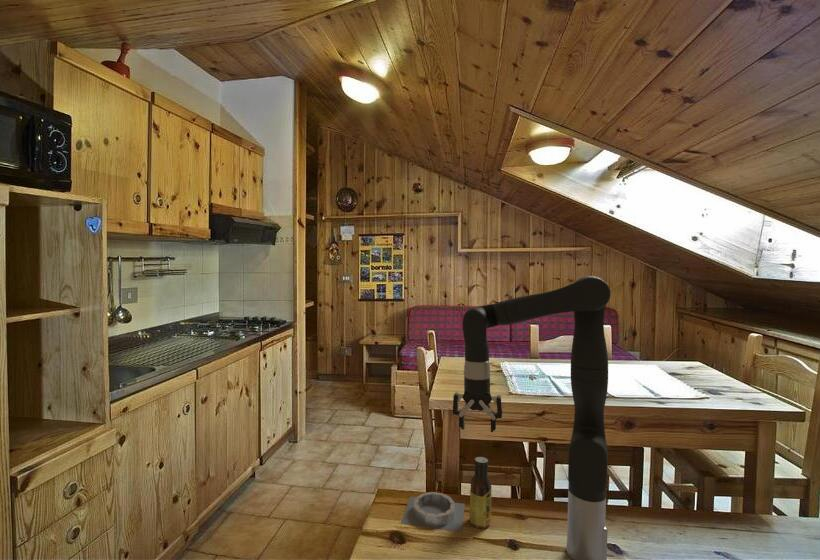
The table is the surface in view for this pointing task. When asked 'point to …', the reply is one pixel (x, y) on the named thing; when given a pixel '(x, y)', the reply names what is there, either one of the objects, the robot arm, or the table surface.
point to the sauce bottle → (480, 495)
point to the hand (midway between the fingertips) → (477, 430)
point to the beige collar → (431, 518)
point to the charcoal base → (435, 509)
